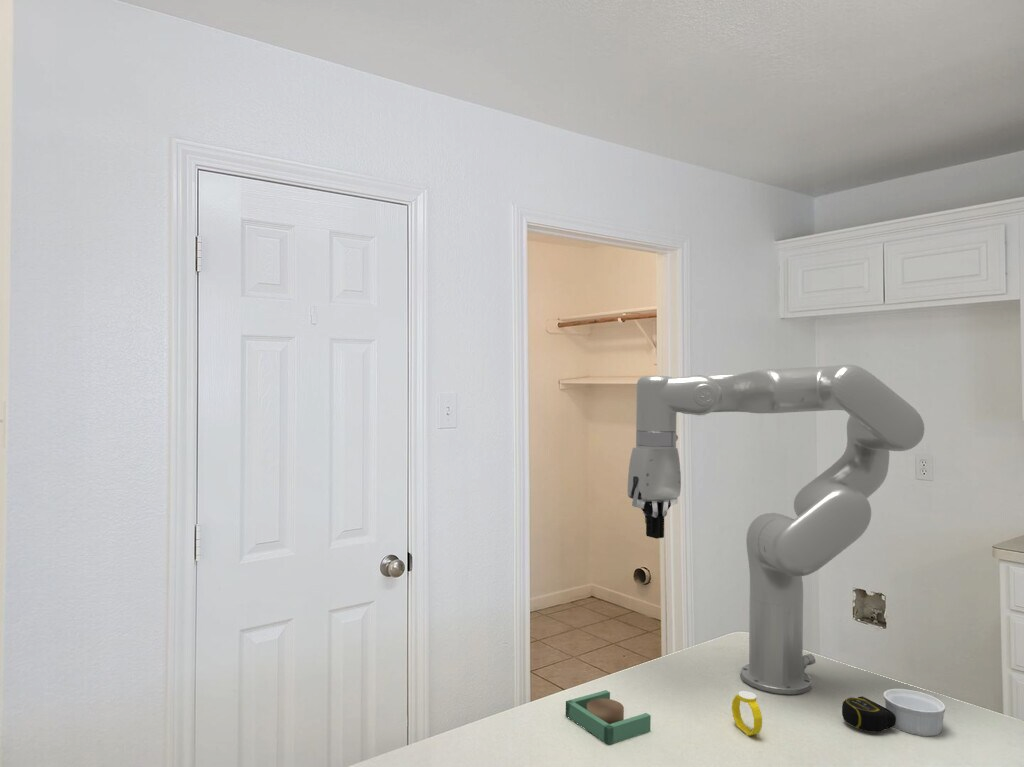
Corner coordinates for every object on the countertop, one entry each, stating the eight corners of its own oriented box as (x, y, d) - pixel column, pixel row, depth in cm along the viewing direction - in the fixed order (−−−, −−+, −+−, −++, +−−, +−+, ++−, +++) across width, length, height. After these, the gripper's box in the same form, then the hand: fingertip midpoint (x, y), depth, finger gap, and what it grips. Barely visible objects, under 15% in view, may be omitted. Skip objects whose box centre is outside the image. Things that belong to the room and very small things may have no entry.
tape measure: (898, 734, 110) (898, 710, 111) (864, 739, 108) (864, 715, 108) (864, 715, 117) (865, 693, 117) (832, 720, 115) (832, 697, 115)
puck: (607, 713, 116) (608, 695, 116) (631, 728, 111) (631, 709, 111) (579, 721, 113) (579, 703, 113) (602, 737, 108) (602, 718, 108)
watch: (727, 724, 113) (727, 687, 113) (741, 722, 113) (742, 685, 114) (751, 741, 107) (751, 703, 107) (766, 739, 108) (766, 701, 108)
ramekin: (892, 708, 120) (893, 683, 120) (951, 726, 113) (951, 700, 113) (875, 725, 113) (875, 698, 113) (936, 745, 107) (936, 716, 107)
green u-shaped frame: (606, 704, 119) (606, 690, 119) (650, 731, 110) (650, 715, 110) (565, 716, 114) (565, 701, 114) (608, 744, 105) (608, 728, 105)
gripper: (670, 438, 138) (669, 530, 137) (613, 440, 130) (611, 537, 129) (698, 441, 131) (697, 536, 131) (640, 442, 124) (639, 544, 123)
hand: (654, 536), depth 130 cm, fingers closed
